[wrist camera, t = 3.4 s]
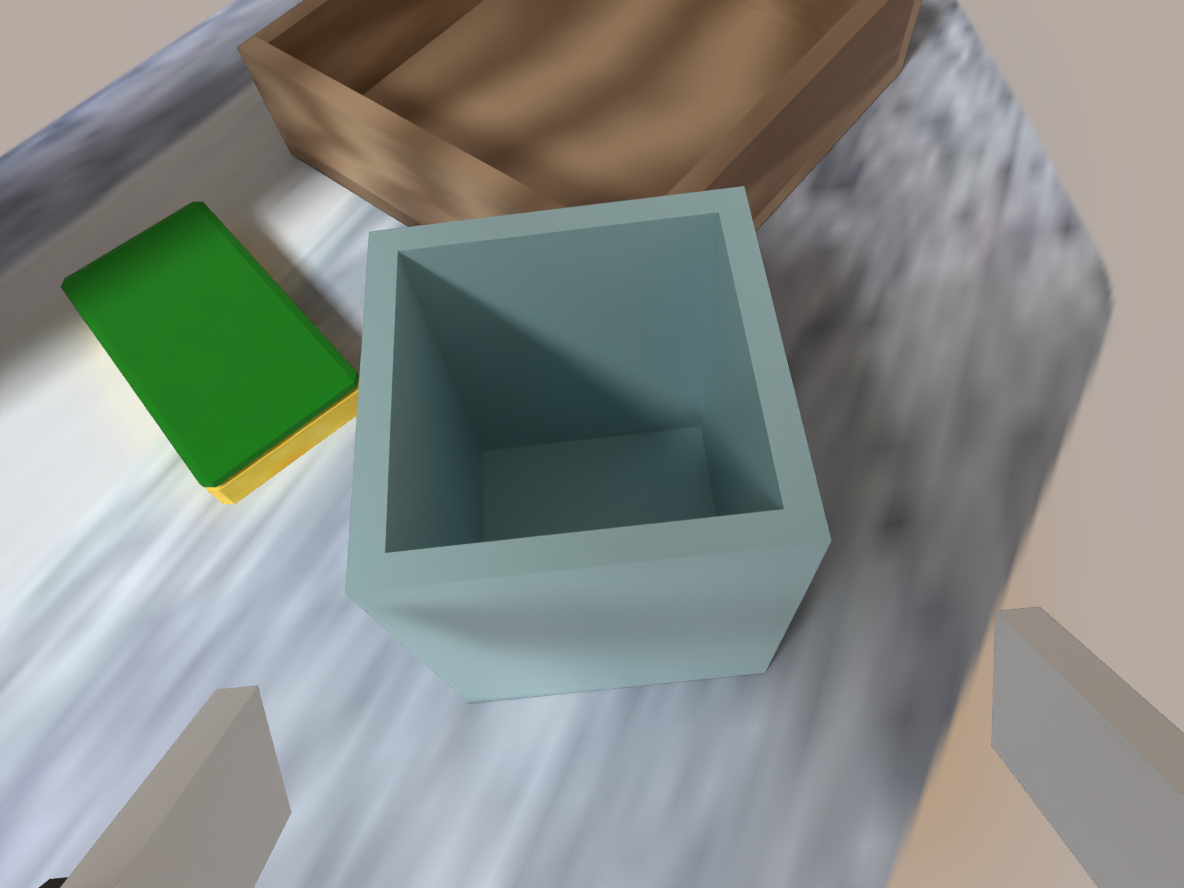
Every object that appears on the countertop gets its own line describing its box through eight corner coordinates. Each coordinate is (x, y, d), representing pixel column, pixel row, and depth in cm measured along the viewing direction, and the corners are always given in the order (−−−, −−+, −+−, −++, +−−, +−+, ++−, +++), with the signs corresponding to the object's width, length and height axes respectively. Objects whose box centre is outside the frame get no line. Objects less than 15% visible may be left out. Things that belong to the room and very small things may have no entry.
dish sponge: (223, 232, 39) (198, 195, 37) (379, 407, 34) (360, 375, 31) (90, 314, 37) (55, 280, 35) (232, 514, 32) (201, 488, 30)
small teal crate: (469, 703, 27) (344, 593, 16) (466, 445, 32) (368, 231, 21) (765, 673, 27) (831, 540, 16) (717, 416, 31) (743, 186, 21)
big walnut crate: (291, 154, 41) (236, 47, 35) (567, -61, 48) (555, -177, 43) (633, 366, 33) (627, 269, 28) (901, 71, 40) (936, -51, 35)
